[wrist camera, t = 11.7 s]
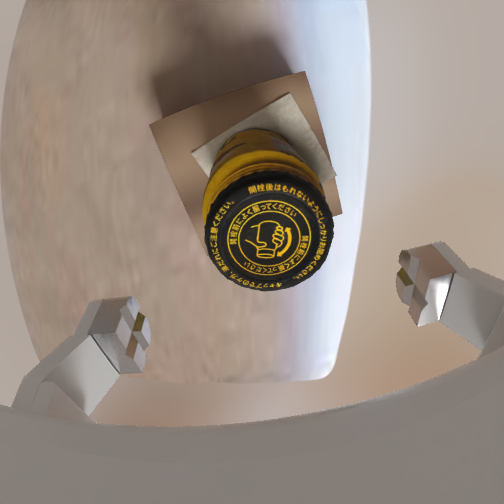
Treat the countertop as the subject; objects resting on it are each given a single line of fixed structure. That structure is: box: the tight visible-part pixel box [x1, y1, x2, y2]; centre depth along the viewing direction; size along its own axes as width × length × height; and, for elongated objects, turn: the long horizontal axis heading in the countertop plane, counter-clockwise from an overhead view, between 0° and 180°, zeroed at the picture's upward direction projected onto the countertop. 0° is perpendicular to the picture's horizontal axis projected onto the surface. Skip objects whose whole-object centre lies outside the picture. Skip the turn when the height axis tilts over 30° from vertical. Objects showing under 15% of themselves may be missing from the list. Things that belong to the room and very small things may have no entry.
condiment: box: [192, 94, 337, 291], centre depth 17 cm, size 7×8×12 cm
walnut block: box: [149, 71, 342, 256], centre depth 24 cm, size 12×12×5 cm
